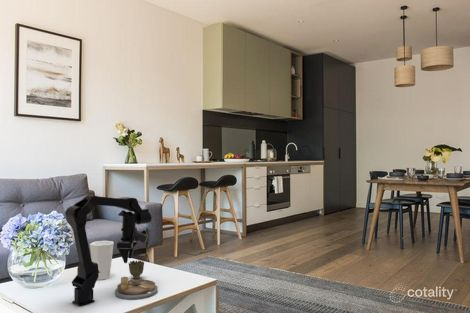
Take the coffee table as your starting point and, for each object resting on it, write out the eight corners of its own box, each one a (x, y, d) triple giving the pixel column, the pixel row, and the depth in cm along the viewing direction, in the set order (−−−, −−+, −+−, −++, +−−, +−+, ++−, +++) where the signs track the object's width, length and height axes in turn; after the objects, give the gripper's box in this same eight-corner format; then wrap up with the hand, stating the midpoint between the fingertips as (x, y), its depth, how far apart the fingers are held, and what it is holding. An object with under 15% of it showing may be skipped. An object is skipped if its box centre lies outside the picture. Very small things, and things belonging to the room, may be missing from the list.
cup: (108, 281, 192) (108, 245, 192) (87, 281, 192) (87, 245, 192) (115, 274, 203) (115, 240, 203) (95, 274, 203) (95, 240, 203)
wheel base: (132, 303, 163) (132, 298, 163) (106, 293, 174) (106, 289, 174) (166, 291, 177) (166, 287, 177) (140, 283, 188) (140, 279, 188)
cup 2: (140, 281, 192) (140, 264, 192) (125, 280, 194) (125, 263, 194) (146, 276, 200) (146, 260, 200) (132, 275, 201) (132, 259, 201)
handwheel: (139, 280, 187) (139, 267, 187) (162, 287, 177) (162, 273, 177) (109, 289, 175) (109, 275, 175) (132, 297, 165) (132, 282, 165)
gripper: (143, 228, 171) (142, 265, 171) (150, 222, 190) (149, 256, 190) (116, 228, 171) (115, 265, 170) (126, 222, 189) (125, 256, 189)
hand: (128, 260), depth 180 cm, fingers open, 9 cm apart
